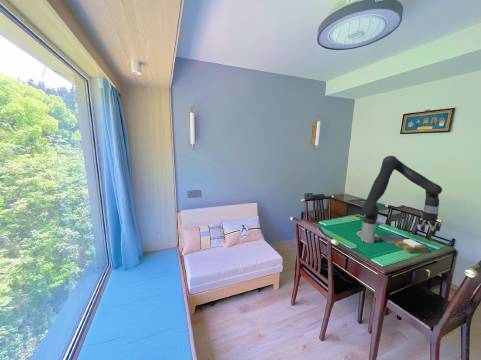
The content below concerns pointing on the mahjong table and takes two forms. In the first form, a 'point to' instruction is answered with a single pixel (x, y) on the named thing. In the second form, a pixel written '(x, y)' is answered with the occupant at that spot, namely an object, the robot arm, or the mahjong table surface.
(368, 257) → the mahjong table surface
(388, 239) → the mat
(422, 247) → the deck
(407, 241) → the card
